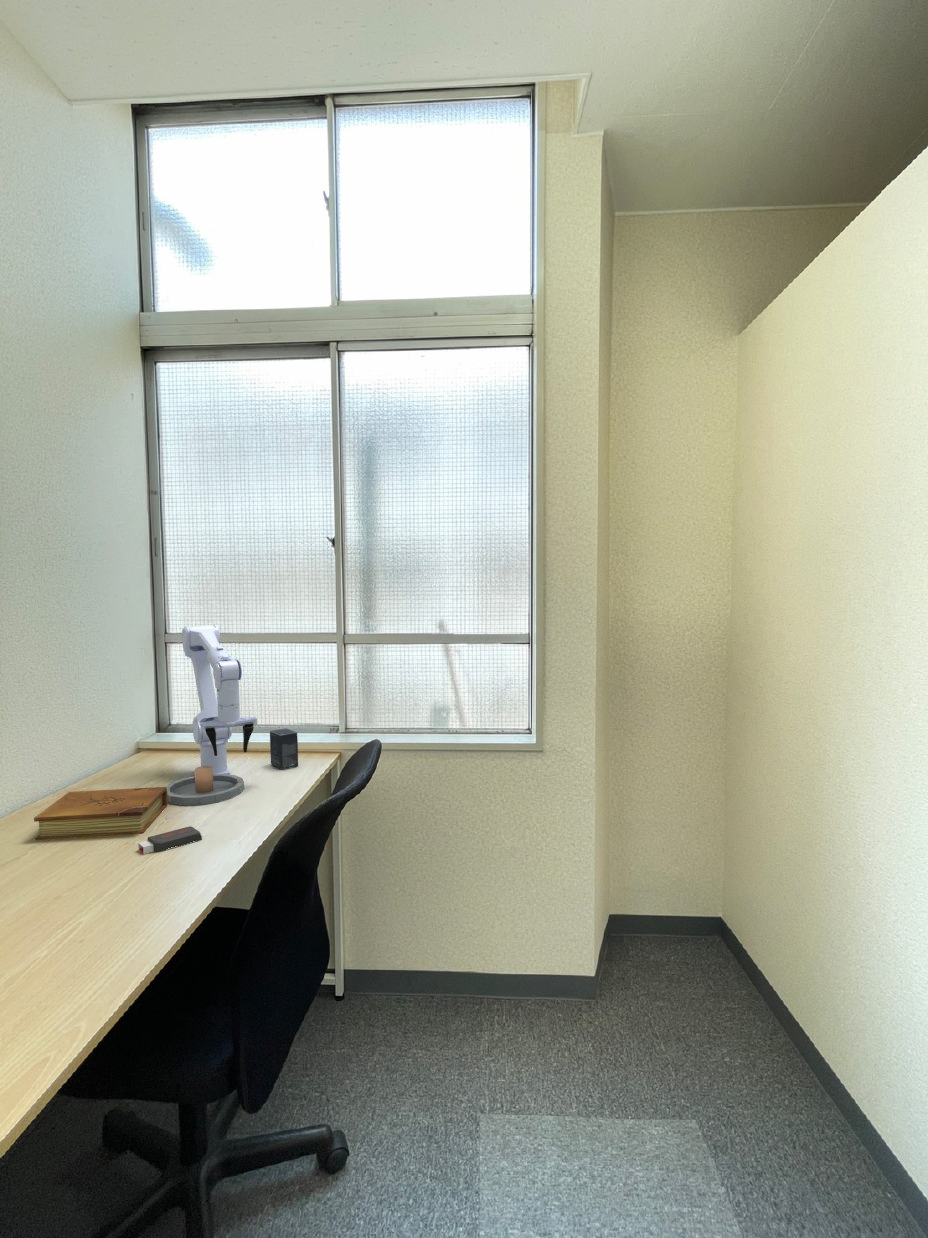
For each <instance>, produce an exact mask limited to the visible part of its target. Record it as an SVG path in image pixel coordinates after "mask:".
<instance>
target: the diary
mask: <svg viewBox="0 0 928 1238" xmlns="http://www.w3.org/2000/svg"><path fill="white" fill-rule="evenodd" d="M168 805H169V804H168V798H167V788H166V786H157V787H156V786H155V787H139V788H137V787H136V788H118V789H101V790H95V789H94V790H79V791H69V792H67V793H65V794H64V795H63V796H62V797H60V798H59V799H58V800H56V801H55V802H53V803H51V804H50V805H49V806H48V807H46V808H45V809H44V810H43V811H41V812H39V814H37V815H36V816H34V817H33V822H38V826H39V827H38V830H39V834H38V835H37V836H36V837H35V838H34V840H35V841H38V840H39V841H40V840H55V839H57V840H58V838H59V839H71V838H72V839H74V838H73V837H76V838H89V837H88V836H93V837H107V836H109V837H111V836H124V835H142V834H144V833H145V832H147V830H148V829H149V828H150V827H151V825H152V824H153V823H155V821H156V820H157V819H158V818H159V816H160V815H161V814H162V813H163V812H164V811H165V809H166V808H167V807H168ZM163 810H164V811H163ZM162 811H163V812H162ZM70 837H71V838H70Z"/></svg>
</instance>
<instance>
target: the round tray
mask: <svg viewBox="0 0 928 1238" xmlns="http://www.w3.org/2000/svg"><path fill="white" fill-rule="evenodd" d="M165 787H166V788H167V798H168V802H169V804H171V805H178V806H201V805H202V806H203V805H209V804H216V803H219V802H223V801H227V800H230V799H233V798H235V797H236V796H239V795H241V793H242V792H243V791H244V790H245V781H244V779H243V777H241V776H238V775H235V774H213V791H210V792H207V793H197V792H196V790H195V775H194V776H193V775H192V776H190V777H189V776H188V777H185V778H180V779H178V780H176V781H173V782H170V783H168V784H167V785H166V786H165Z"/></svg>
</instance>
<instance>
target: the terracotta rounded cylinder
mask: <svg viewBox="0 0 928 1238" xmlns="http://www.w3.org/2000/svg"><path fill="white" fill-rule="evenodd" d="M194 776H195V790H196V792H197V793H207V792H210V791H213V767H211V766H201V765H200V766H197V767H195V768H194Z"/></svg>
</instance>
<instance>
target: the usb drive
mask: <svg viewBox="0 0 928 1238" xmlns="http://www.w3.org/2000/svg"><path fill="white" fill-rule="evenodd" d="M202 840H203V836H202V833H201V832H200V831H199V830H198V829H196V828H195V827H193V826H191V825H190V826H186V827H181V828H178V829H174V830H171V831H166V832H163V833H159V834H156V835H151V836H147V840H145V841H140V842H138V843H137V846H138V851H139V850H140V851H139V852H141V853H142V854H143V855H147V854H150V853H149V852H151V853H153V852H154V853H159V852H160V853H161V852H164V851H167V850H166V849H168V848H171V847H175V846H178V847H182V846H185V845H188V844H187V843H189V844H191V843H190V842H192V843H194V842H193V841H196V842H198V841H199V842H200V841H202ZM184 844H185V845H184ZM181 845H182V846H181ZM175 848H176V847H175ZM171 849H172V848H171ZM163 850H164V851H163ZM168 850H169V849H168ZM146 853H147V854H146Z"/></svg>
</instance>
